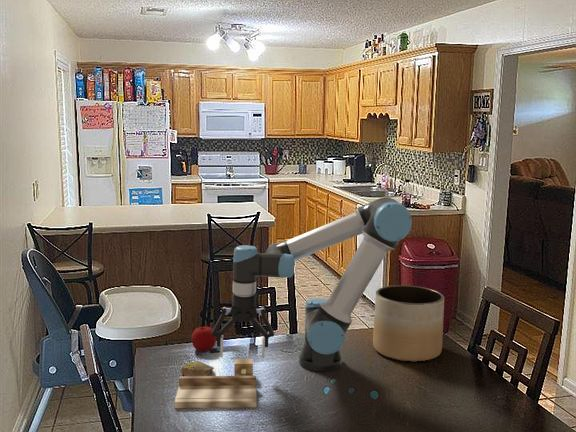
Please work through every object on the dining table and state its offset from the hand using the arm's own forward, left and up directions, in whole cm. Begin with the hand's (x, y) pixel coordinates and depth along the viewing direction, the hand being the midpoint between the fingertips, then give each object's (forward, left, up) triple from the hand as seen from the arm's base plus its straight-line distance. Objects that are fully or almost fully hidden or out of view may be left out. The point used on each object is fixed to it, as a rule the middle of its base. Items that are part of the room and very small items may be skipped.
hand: (242, 356), depth 190 cm
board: (+8, +14, -8) cm, 18 cm away
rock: (+15, -4, -8) cm, 18 cm away
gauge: (0, +2, -8) cm, 8 cm away
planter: (-61, -23, -8) cm, 66 cm away
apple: (+15, -25, -8) cm, 30 cm away
